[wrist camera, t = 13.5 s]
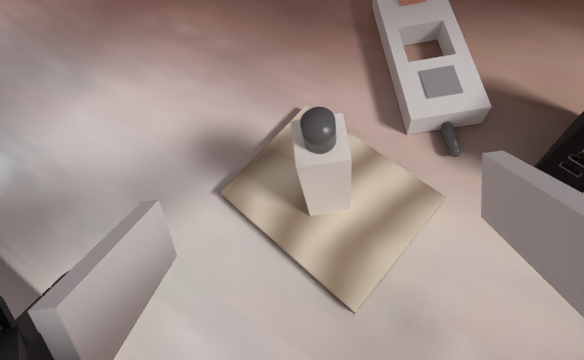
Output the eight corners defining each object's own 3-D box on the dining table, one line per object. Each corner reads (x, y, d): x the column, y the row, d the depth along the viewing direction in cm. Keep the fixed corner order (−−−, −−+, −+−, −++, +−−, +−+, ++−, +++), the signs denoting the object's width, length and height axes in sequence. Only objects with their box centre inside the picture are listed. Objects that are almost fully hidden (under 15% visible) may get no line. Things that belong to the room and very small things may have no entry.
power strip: (493, 154, 37) (507, 136, 34) (415, 166, 38) (421, 149, 35) (433, -4, 47) (439, -30, 44) (372, 7, 48) (373, -17, 45)
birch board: (442, 202, 36) (446, 197, 35) (354, 313, 33) (354, 312, 32) (307, 112, 43) (306, 104, 41) (224, 197, 40) (220, 192, 38)
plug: (350, 210, 35) (351, 142, 23) (310, 216, 36) (291, 151, 24) (344, 174, 37) (342, 93, 25) (305, 179, 37) (286, 102, 25)
